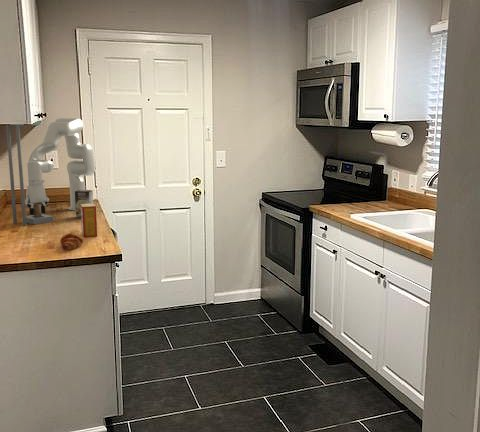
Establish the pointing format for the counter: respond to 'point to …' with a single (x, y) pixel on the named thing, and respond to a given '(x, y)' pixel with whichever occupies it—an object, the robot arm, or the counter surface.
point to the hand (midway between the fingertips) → (37, 213)
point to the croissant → (70, 241)
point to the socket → (39, 219)
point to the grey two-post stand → (19, 172)
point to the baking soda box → (88, 220)
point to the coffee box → (82, 199)
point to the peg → (37, 210)
